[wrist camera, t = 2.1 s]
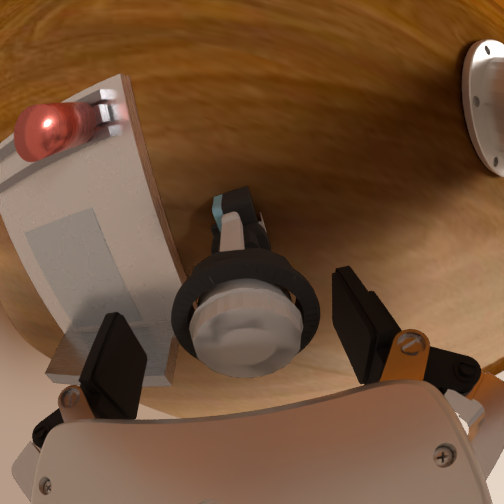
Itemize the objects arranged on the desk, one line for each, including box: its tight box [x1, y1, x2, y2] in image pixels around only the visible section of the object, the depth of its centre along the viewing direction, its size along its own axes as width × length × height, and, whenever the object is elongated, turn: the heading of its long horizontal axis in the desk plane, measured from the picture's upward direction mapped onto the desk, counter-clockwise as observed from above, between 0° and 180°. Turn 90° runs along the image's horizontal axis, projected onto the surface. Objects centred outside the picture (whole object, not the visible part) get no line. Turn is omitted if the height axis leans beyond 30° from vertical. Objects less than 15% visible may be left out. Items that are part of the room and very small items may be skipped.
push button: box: [171, 186, 320, 378], centre depth 13 cm, size 7×5×10 cm
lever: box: [14, 102, 111, 162], centre depth 10 cm, size 3×2×5 cm
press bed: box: [0, 74, 198, 387], centre depth 14 cm, size 13×18×6 cm
